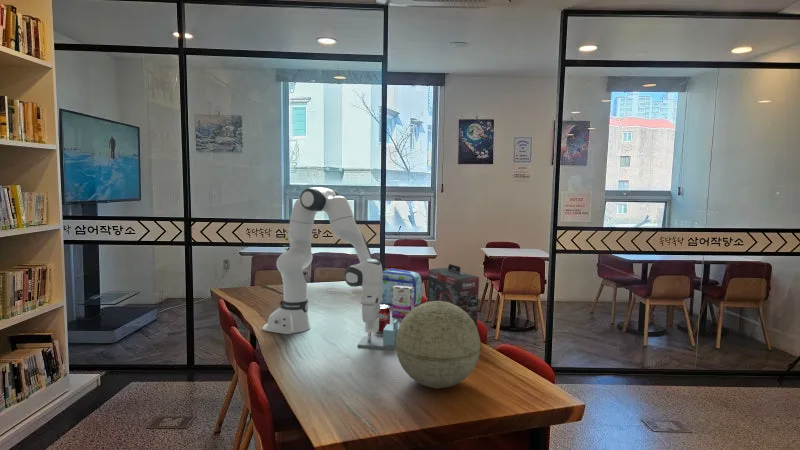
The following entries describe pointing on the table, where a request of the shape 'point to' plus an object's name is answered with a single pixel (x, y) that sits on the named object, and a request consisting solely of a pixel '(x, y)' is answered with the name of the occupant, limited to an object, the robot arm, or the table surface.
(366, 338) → the plate
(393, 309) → the candy bar box
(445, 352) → the celestial globe
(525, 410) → the table surface
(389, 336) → the cover
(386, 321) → the soda can
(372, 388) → the table surface
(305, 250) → the robot arm
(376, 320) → the jaw
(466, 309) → the headset box
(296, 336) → the table surface
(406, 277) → the lunch box
